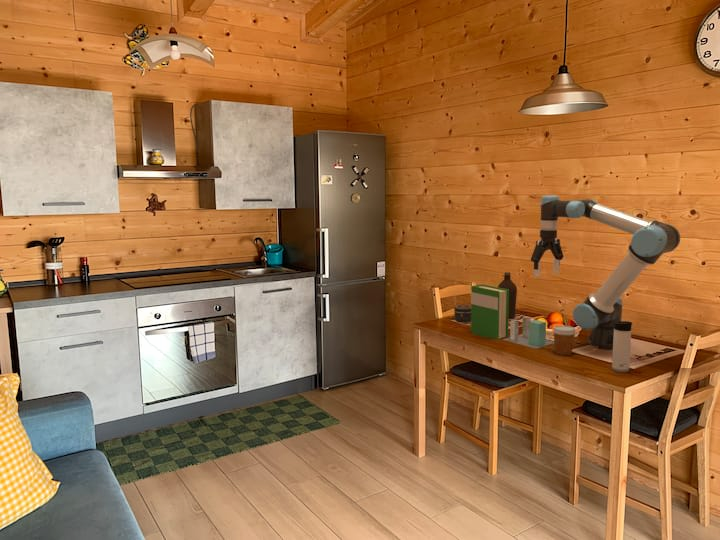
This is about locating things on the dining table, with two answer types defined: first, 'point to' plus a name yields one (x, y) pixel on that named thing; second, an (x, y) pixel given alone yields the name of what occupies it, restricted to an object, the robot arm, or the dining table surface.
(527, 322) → the goal post
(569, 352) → the disposable coffee cup
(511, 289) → the olive oil
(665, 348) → the dining table surface
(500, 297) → the hardback book
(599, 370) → the dining table surface
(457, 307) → the jar
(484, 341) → the dining table surface
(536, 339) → the grey-green piece
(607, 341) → the robot arm
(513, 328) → the post
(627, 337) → the travel mug
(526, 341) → the board
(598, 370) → the dining table surface
